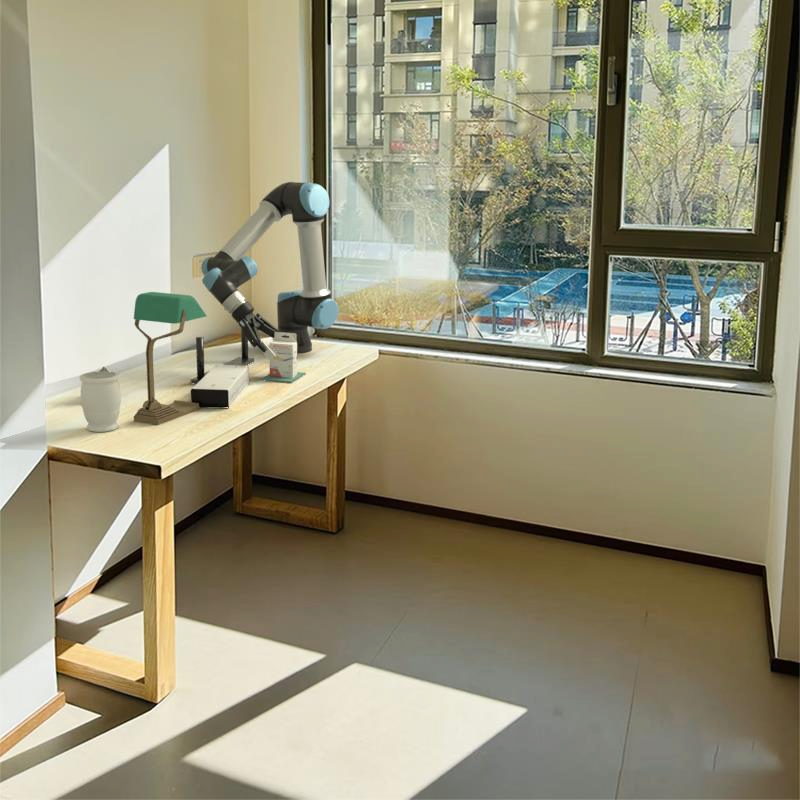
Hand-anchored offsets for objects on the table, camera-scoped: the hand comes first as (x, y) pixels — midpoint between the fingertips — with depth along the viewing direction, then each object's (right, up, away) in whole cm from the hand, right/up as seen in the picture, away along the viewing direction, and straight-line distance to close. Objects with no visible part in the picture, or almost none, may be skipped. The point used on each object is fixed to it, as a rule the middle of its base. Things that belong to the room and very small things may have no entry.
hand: (280, 354), depth 316 cm
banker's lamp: (-26, -20, -47) cm, 57 cm away
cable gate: (-20, -6, +7) cm, 23 cm away
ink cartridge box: (+1, -7, +2) cm, 8 cm away
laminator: (-16, -14, -22) cm, 31 cm away
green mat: (+1, -8, +2) cm, 8 cm away
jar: (-41, -24, -62) cm, 78 cm away
